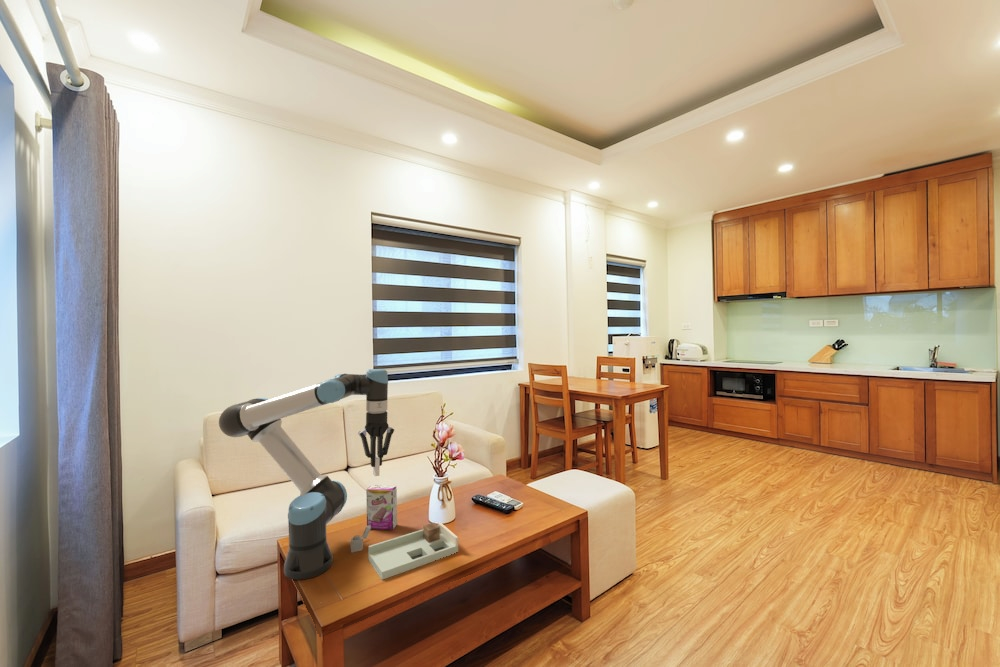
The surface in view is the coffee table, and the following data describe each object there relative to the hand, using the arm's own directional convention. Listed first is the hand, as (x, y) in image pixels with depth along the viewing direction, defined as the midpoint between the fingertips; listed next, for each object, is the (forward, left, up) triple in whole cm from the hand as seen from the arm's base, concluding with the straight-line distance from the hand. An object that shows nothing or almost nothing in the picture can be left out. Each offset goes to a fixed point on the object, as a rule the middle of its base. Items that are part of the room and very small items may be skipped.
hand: (376, 474), depth 155 cm
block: (+17, -10, -25) cm, 32 cm away
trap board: (+9, -14, -27) cm, 32 cm away
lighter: (-5, +2, -27) cm, 28 cm away
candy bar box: (+7, +14, -27) cm, 32 cm away
